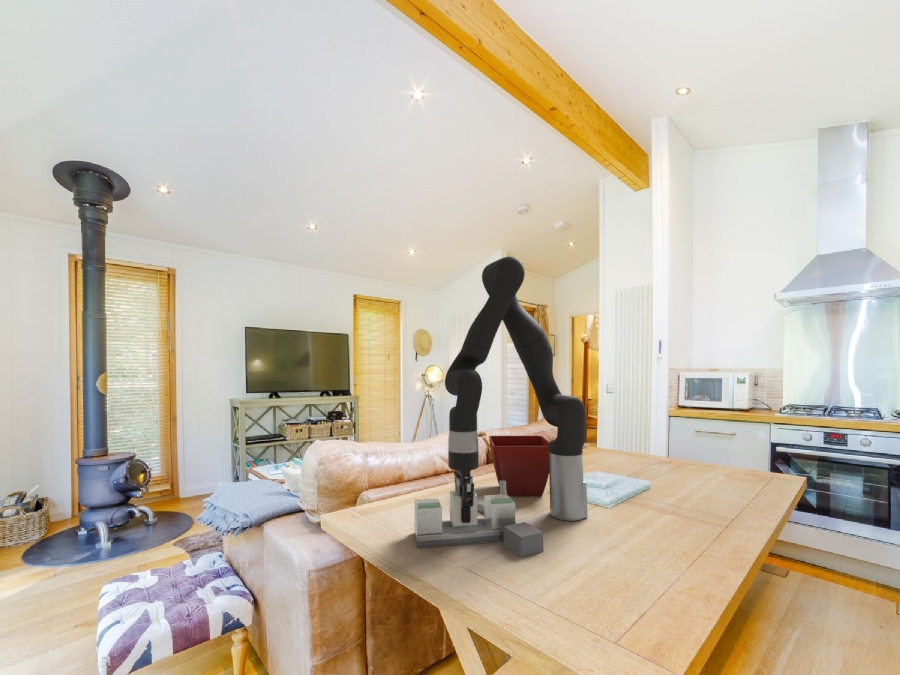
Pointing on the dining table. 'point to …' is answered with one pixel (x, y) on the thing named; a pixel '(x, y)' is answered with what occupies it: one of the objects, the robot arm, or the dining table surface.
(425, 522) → the rail board
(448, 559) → the dining table surface
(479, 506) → the electronic device
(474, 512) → the block
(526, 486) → the plant pot
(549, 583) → the dining table surface
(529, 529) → the block
